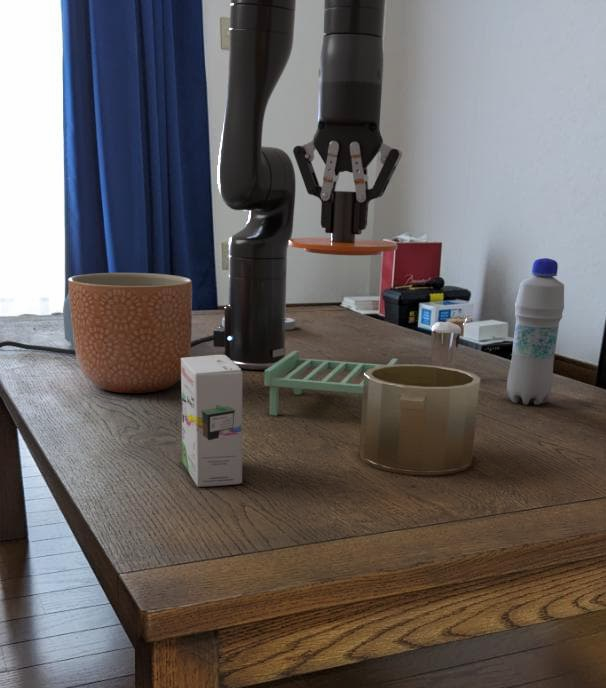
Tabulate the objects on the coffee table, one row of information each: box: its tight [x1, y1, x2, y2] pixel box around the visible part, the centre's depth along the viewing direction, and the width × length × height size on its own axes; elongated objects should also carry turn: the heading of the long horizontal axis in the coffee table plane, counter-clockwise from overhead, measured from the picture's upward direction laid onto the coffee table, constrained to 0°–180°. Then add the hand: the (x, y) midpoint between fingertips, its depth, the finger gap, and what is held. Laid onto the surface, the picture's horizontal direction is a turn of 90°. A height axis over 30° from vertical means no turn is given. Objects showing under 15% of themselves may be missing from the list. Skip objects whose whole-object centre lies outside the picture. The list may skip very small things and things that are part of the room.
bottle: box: [506, 257, 565, 406], centre depth 127 cm, size 7×7×20 cm
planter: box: [67, 272, 193, 394], centre depth 128 cm, size 17×17×15 cm
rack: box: [263, 350, 399, 417], centre depth 122 cm, size 15×15×6 cm
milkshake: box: [430, 317, 469, 369], centre depth 140 cm, size 5×5×10 cm
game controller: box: [221, 316, 296, 331], centre depth 182 cm, size 15×13×2 cm
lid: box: [288, 190, 398, 256], centre depth 113 cm, size 14×14×7 cm
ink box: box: [180, 354, 243, 488], centre depth 92 cm, size 8×5×12 cm, turn 17°
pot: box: [359, 363, 482, 477], centre depth 100 cm, size 13×18×10 cm
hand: (343, 232), depth 114 cm, fingers closed on lid, 3 cm apart
